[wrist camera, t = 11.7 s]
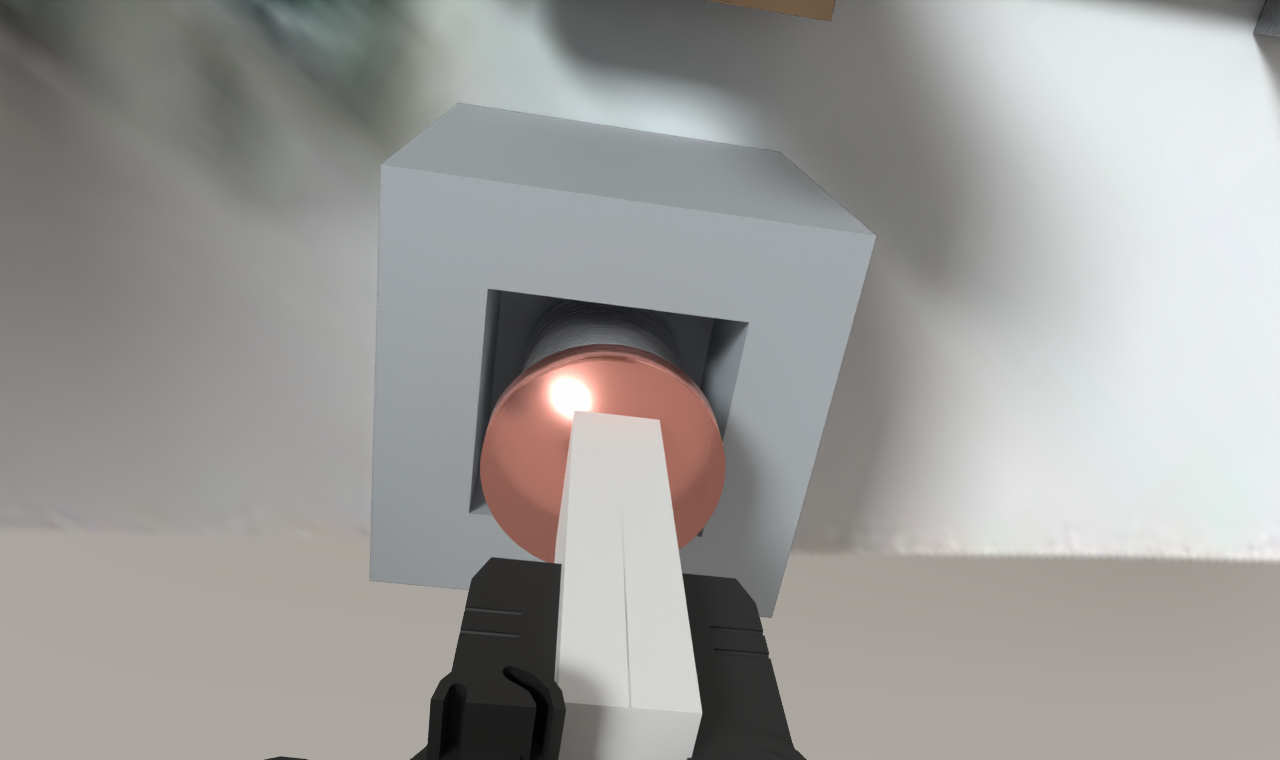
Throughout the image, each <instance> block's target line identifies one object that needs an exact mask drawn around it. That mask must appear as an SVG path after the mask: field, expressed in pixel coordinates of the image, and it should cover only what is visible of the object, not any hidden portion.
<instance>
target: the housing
mask: <svg viewBox="0 0 1280 760" xmlns="http://www.w3.org/2000/svg"><path fill="white" fill-rule="evenodd" d="M875 240H876V235H875V234H874V233H873V232H872V231H871V230H869V229H868V228H867V227H866V226H865V225H864V224H862V223H861V222H860V221H859V220H858V219H857V218H856V217H854V216H853V215H852V214H851V213H850V212H849V211H847V210H846V209H845V208H844V207H843V206H842V205H841V204H839V203H838V202H837V201H836V200H835V199H834V198H833V197H831V196H830V195H829V194H828V193H827V192H826V191H824V190H823V189H822V188H821V187H820V186H819V185H818V184H816V183H815V182H814V181H813V180H812V179H811V178H809V177H808V176H807V175H806V174H805V173H804V172H803V171H801V170H800V169H799V168H798V167H797V166H796V165H795V164H793V163H792V162H791V161H790V160H789V159H788V158H786V157H785V156H784V155H783V154H782V153H781V152H776V151H769V150H763V149H756V148H750V147H743V146H737V145H730V144H724V143H717V142H710V141H704V140H697V139H691V138H684V137H678V136H671V135H665V134H658V133H651V132H645V131H638V130H632V129H625V128H619V127H612V126H605V125H599V124H592V123H586V122H579V121H573V120H566V119H560V118H553V117H546V116H540V115H533V114H527V113H520V112H514V111H507V110H501V109H494V108H487V107H481V106H474V105H468V104H461V103H458V104H456V105H455V106H454V107H453V108H451V109H450V110H449V111H448V112H446V113H445V114H444V115H443V116H441V117H440V118H439V119H438V120H436V121H435V122H434V123H433V124H431V125H430V126H429V127H428V128H426V129H425V130H424V131H423V132H421V133H420V134H419V135H418V136H416V137H415V138H414V139H413V140H411V141H410V142H409V143H408V144H406V145H405V146H404V147H403V148H401V149H400V150H399V151H398V152H396V153H395V154H394V155H393V156H391V157H390V158H389V159H388V160H386V161H385V162H384V163H383V164H381V181H380V218H379V255H378V292H377V329H376V366H375V403H374V440H373V477H372V514H371V552H370V581H376V582H387V583H398V584H409V585H420V586H432V587H442V588H452V589H463V590H469V588H470V583H471V579H472V578H473V577H474V576H475V574H476V573H477V572H478V571H479V570H480V569H481V568H482V567H483V566H484V565H485V563H486V562H487V561H488V560H489V559H490V558H491V557H496V558H506V559H517V560H527V561H537V562H545V561H543V560H541V559H539V558H537V557H535V556H533V555H531V554H530V553H528V552H527V551H526V550H524V549H523V548H521V547H520V546H519V545H517V544H516V543H515V542H514V541H513V540H512V539H511V538H510V537H509V536H508V535H507V534H506V533H505V532H504V531H503V529H502V528H501V527H500V526H499V524H498V523H497V521H496V520H495V518H494V517H493V515H492V513H491V511H490V509H489V507H488V505H487V503H486V500H485V497H484V493H483V490H482V484H481V477H480V459H481V453H482V447H483V443H484V439H485V435H486V431H487V427H488V424H489V421H490V418H491V414H492V412H493V410H494V408H495V406H496V404H497V402H498V400H499V398H500V397H501V395H502V394H503V392H504V391H505V390H506V388H507V387H508V386H509V385H510V384H511V383H512V382H513V380H514V379H515V378H516V377H517V376H518V375H520V374H521V369H522V364H523V359H524V354H525V349H526V345H527V342H528V339H529V337H530V335H531V333H532V331H533V329H534V328H535V326H536V325H537V323H538V322H539V321H540V320H541V319H542V318H543V316H544V315H545V314H546V313H548V312H549V311H550V310H551V309H552V308H554V307H555V306H557V305H558V304H560V303H562V302H564V301H566V300H568V299H572V300H580V301H588V302H595V303H603V304H611V305H618V306H626V307H634V308H642V309H649V310H654V311H655V312H656V313H657V314H658V315H659V316H660V317H661V318H662V319H663V320H664V321H665V323H666V324H667V325H668V327H669V328H670V330H671V332H672V334H673V336H674V338H675V341H676V344H677V347H678V351H679V355H680V360H681V364H682V368H683V372H684V373H686V374H687V375H688V376H689V377H690V378H691V379H692V380H693V381H694V382H695V383H696V384H697V386H698V387H699V388H700V389H701V391H702V392H703V394H704V395H705V397H706V398H707V400H708V402H709V404H710V406H711V408H712V410H713V412H714V415H715V419H716V422H717V425H718V429H719V432H720V436H721V439H722V443H723V447H724V454H725V480H724V486H723V490H722V493H721V497H720V500H719V502H718V504H717V506H716V509H715V511H714V513H713V514H712V516H711V517H710V519H709V521H708V522H707V524H706V525H705V526H704V527H703V529H702V530H701V531H700V532H699V533H698V534H697V535H696V536H695V537H694V538H693V539H692V540H691V541H690V542H689V543H688V544H687V545H685V546H684V547H682V548H681V549H680V550H679V556H680V563H681V570H682V573H685V574H695V575H706V576H716V577H726V578H736V579H737V580H738V582H739V583H740V584H741V585H742V587H743V588H744V589H745V590H746V592H747V593H748V594H749V595H750V597H751V598H752V599H753V600H754V601H755V603H756V605H757V609H758V613H759V617H768V618H771V617H772V615H773V611H774V607H775V604H776V600H777V596H778V593H779V589H780V585H781V582H782V578H783V575H784V571H785V567H786V564H787V560H788V557H789V553H790V549H791V546H792V542H793V538H794V535H795V531H796V528H797V524H798V520H799V517H800V513H801V509H802V506H803V502H804V498H805V495H806V491H807V487H808V484H809V480H810V477H811V473H812V469H813V466H814V462H815V458H816V455H817V451H818V447H819V444H820V440H821V437H822V433H823V429H824V426H825V422H826V418H827V415H828V411H829V407H830V404H831V400H832V397H833V393H834V389H835V386H836V382H837V378H838V375H839V371H840V367H841V364H842V360H843V357H844V353H845V349H846V346H847V342H848V338H849V335H850V331H851V327H852V324H853V320H854V317H855V313H856V309H857V306H858V302H859V298H860V295H861V291H862V287H863V284H864V280H865V276H866V273H867V269H868V266H869V262H870V258H871V255H872V251H873V247H874V244H875Z"/></svg>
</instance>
